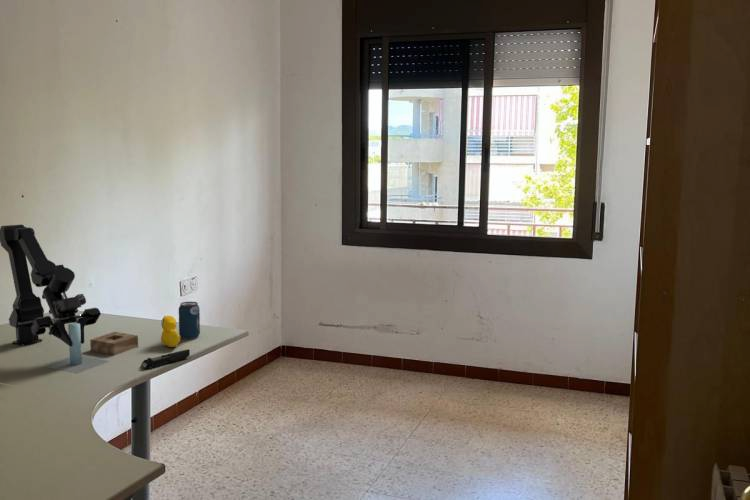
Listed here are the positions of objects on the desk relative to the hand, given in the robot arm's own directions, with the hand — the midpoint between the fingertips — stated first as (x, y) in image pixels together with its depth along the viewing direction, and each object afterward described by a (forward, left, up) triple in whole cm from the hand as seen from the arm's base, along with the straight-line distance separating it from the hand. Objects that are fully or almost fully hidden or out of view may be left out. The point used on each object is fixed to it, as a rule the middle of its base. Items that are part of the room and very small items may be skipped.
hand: (77, 344), depth 186 cm
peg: (-1, 0, -6) cm, 6 cm away
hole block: (-2, +16, -7) cm, 18 cm away
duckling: (+11, +27, -7) cm, 30 cm away
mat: (-1, 0, -7) cm, 7 cm away
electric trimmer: (+21, +13, -7) cm, 26 cm away
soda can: (+10, +38, -7) cm, 40 cm away
